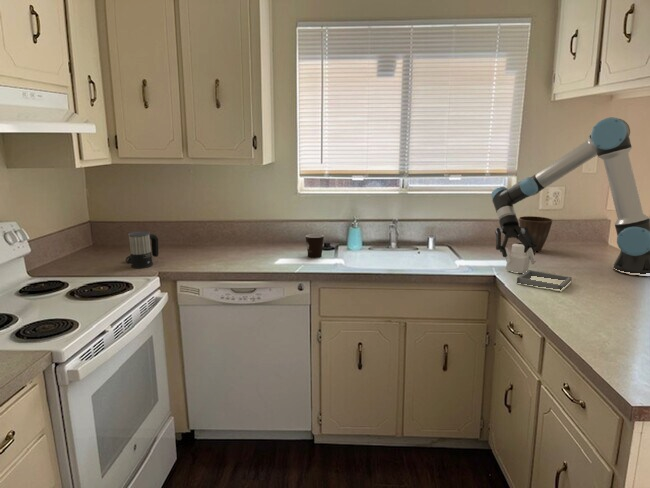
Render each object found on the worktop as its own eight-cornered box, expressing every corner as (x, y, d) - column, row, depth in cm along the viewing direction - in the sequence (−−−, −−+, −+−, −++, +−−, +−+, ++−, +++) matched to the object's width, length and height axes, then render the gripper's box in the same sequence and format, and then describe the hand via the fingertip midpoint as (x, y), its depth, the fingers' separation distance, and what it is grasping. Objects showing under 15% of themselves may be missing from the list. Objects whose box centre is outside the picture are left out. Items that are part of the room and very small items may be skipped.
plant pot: (543, 247, 248) (546, 216, 244) (553, 254, 233) (557, 221, 230) (513, 246, 249) (515, 216, 246) (521, 253, 235) (524, 221, 231)
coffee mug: (323, 258, 228) (323, 237, 225) (305, 258, 228) (304, 237, 226) (324, 252, 239) (324, 232, 237) (306, 252, 239) (306, 232, 237)
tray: (571, 283, 189) (571, 277, 188) (560, 292, 179) (561, 285, 178) (528, 275, 199) (529, 270, 198) (516, 283, 189) (517, 277, 188)
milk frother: (145, 269, 211) (142, 235, 208) (113, 267, 214) (109, 234, 211) (162, 261, 225) (160, 229, 221) (132, 259, 228) (129, 228, 224)
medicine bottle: (511, 268, 211) (513, 241, 208) (528, 270, 206) (531, 243, 204) (505, 271, 205) (508, 243, 203) (523, 274, 201) (525, 246, 198)
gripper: (528, 223, 218) (543, 266, 206) (480, 224, 216) (492, 268, 204) (535, 213, 211) (551, 257, 200) (485, 214, 210) (498, 259, 198)
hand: (521, 262), depth 202 cm, fingers closed on medicine bottle, 10 cm apart
